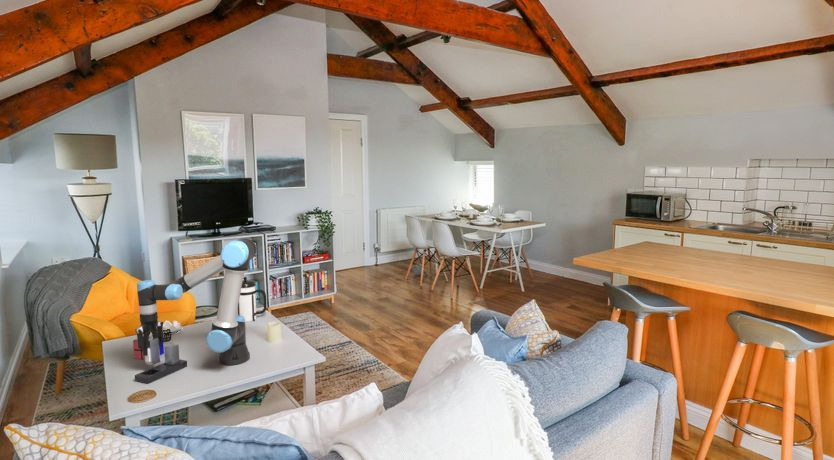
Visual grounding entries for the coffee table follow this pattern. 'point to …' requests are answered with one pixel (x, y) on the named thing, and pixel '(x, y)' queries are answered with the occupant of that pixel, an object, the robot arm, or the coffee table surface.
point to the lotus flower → (172, 326)
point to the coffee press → (249, 301)
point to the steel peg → (153, 351)
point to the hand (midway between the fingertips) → (152, 359)
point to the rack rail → (159, 372)
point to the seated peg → (171, 354)
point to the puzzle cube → (139, 352)
